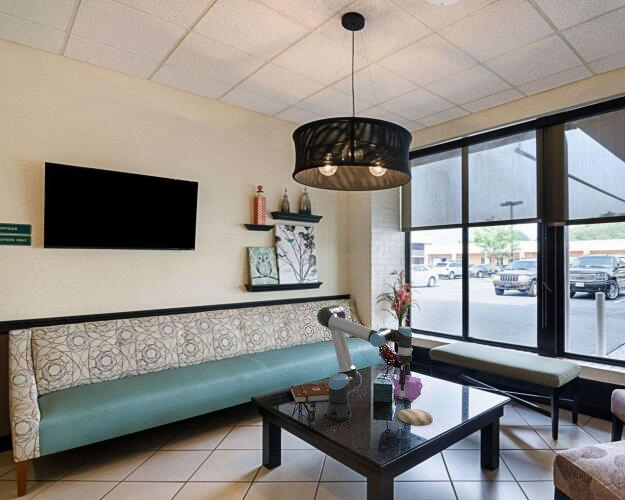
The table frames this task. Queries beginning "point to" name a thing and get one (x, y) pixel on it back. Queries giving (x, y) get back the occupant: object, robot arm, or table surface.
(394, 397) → the camera
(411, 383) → the teapot
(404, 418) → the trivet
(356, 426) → the table surface
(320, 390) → the book
